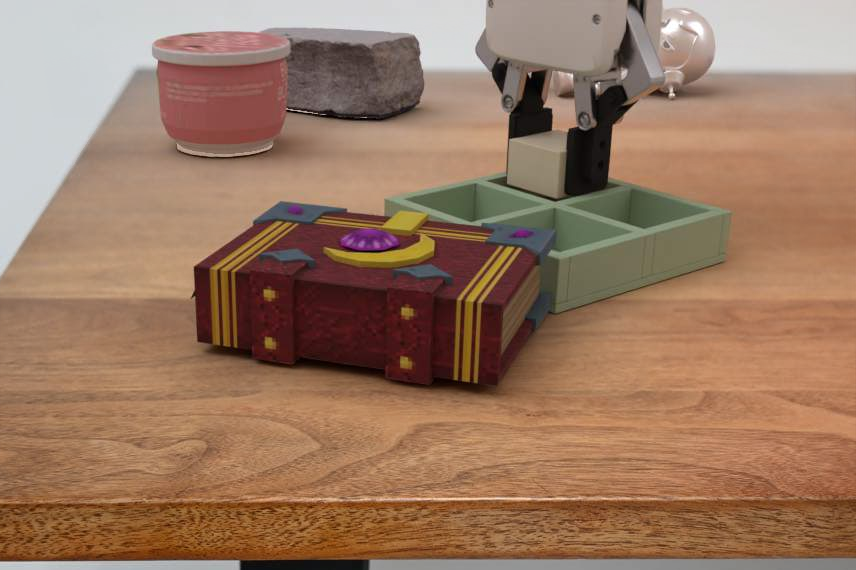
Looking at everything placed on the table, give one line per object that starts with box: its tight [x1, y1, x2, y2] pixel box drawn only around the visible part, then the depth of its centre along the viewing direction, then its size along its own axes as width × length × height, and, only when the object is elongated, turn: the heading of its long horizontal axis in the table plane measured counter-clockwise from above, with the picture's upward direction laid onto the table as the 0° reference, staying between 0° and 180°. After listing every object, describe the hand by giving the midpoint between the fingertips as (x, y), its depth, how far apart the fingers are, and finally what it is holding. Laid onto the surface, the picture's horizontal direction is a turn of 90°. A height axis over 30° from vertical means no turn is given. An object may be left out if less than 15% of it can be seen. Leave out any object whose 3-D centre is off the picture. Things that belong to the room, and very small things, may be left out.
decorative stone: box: [258, 27, 425, 119], centre depth 109 cm, size 15×7×10 cm
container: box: [151, 30, 291, 154], centre depth 97 cm, size 10×10×8 cm
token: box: [507, 129, 570, 199], centre depth 76 cm, size 4×4×3 cm
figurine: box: [552, 4, 716, 100], centre depth 115 cm, size 11×7×15 cm
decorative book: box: [190, 200, 557, 387], centre depth 62 cm, size 11×16×5 cm
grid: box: [383, 171, 733, 315], centre depth 73 cm, size 14×14×3 cm
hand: (556, 180), depth 77 cm, fingers closed on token, 4 cm apart
